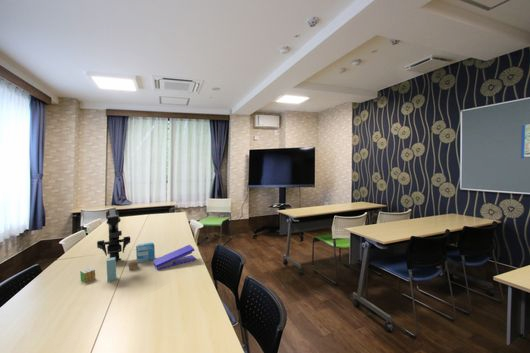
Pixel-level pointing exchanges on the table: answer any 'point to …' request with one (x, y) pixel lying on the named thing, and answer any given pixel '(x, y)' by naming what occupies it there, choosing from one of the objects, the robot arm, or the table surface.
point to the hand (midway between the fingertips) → (114, 254)
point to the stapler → (175, 258)
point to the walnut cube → (133, 264)
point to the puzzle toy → (87, 274)
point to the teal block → (111, 269)
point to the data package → (145, 252)
